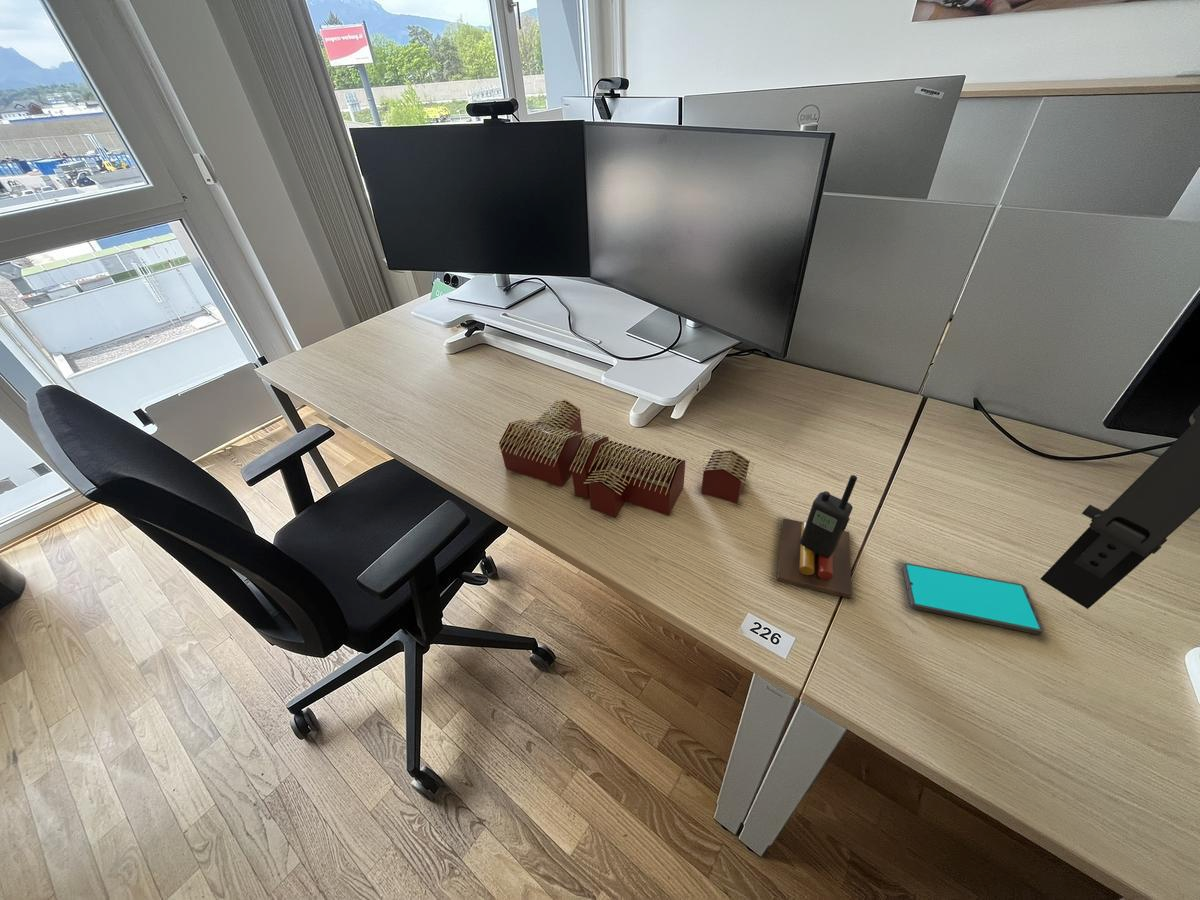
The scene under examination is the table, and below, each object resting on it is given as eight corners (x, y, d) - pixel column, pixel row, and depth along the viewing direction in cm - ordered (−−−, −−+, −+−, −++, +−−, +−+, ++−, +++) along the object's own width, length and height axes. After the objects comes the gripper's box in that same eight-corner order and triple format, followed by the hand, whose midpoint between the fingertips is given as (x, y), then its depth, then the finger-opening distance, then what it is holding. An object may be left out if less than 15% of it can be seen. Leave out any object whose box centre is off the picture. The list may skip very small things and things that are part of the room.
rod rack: (847, 535, 74) (852, 523, 72) (850, 598, 66) (856, 587, 64) (782, 521, 77) (785, 509, 75) (776, 580, 69) (780, 568, 67)
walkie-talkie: (798, 543, 70) (822, 471, 60) (807, 530, 72) (832, 458, 62) (830, 560, 67) (860, 488, 58) (839, 546, 69) (870, 473, 59)
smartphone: (1045, 632, 59) (913, 604, 63) (1041, 635, 60) (911, 608, 64) (1024, 584, 65) (903, 561, 69) (1021, 587, 65) (901, 565, 69)
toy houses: (497, 477, 90) (486, 437, 84) (552, 419, 104) (545, 381, 97) (725, 554, 73) (733, 511, 66) (755, 472, 87) (764, 430, 80)
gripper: (1569, 355, 13) (1092, 686, 26) (1649, 196, 21) (1256, 508, 35) (1195, 279, 18) (957, 589, 32) (1380, 175, 26) (1130, 455, 40)
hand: (1114, 547), depth 33 cm, fingers open, 13 cm apart
